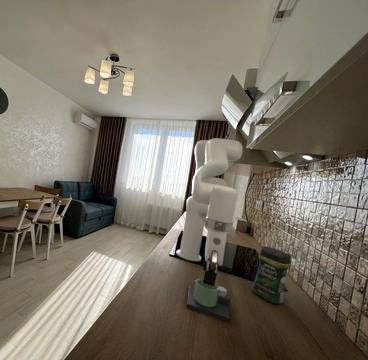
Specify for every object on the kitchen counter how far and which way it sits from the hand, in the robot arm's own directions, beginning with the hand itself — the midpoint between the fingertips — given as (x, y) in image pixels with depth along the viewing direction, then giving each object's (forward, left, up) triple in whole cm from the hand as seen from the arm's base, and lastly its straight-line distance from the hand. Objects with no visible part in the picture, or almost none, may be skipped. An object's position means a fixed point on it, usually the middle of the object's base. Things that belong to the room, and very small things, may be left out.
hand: (208, 277), depth 69 cm
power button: (-4, +5, -6) cm, 9 cm away
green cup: (+1, 0, -8) cm, 7 cm away
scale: (0, +1, -9) cm, 9 cm away
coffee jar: (-20, +23, -9) cm, 32 cm away
